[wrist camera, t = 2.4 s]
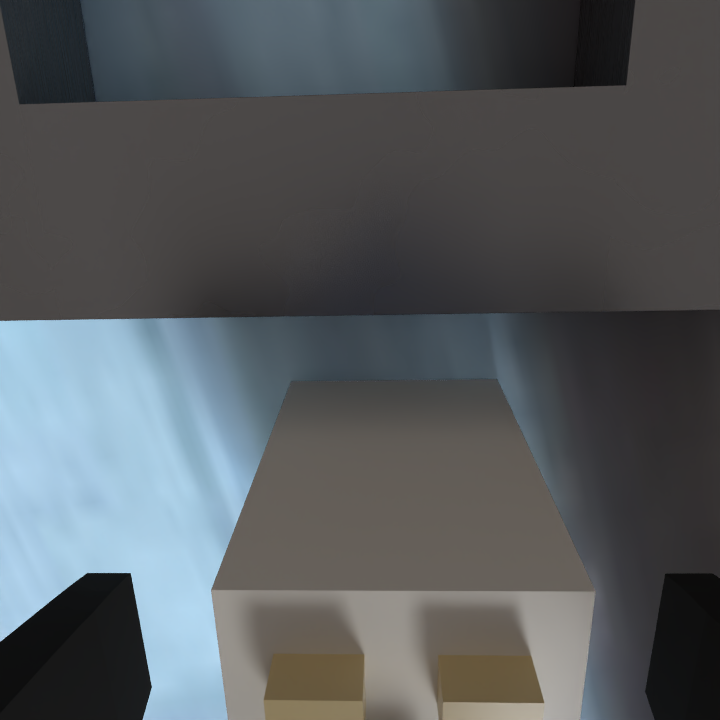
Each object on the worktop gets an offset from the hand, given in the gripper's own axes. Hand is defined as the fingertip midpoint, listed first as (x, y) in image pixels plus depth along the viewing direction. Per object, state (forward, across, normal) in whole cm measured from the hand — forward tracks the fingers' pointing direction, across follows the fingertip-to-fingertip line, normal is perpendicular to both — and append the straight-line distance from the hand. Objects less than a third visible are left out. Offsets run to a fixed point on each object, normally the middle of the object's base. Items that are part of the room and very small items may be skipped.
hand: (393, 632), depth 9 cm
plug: (+4, 0, 0) cm, 5 cm away
